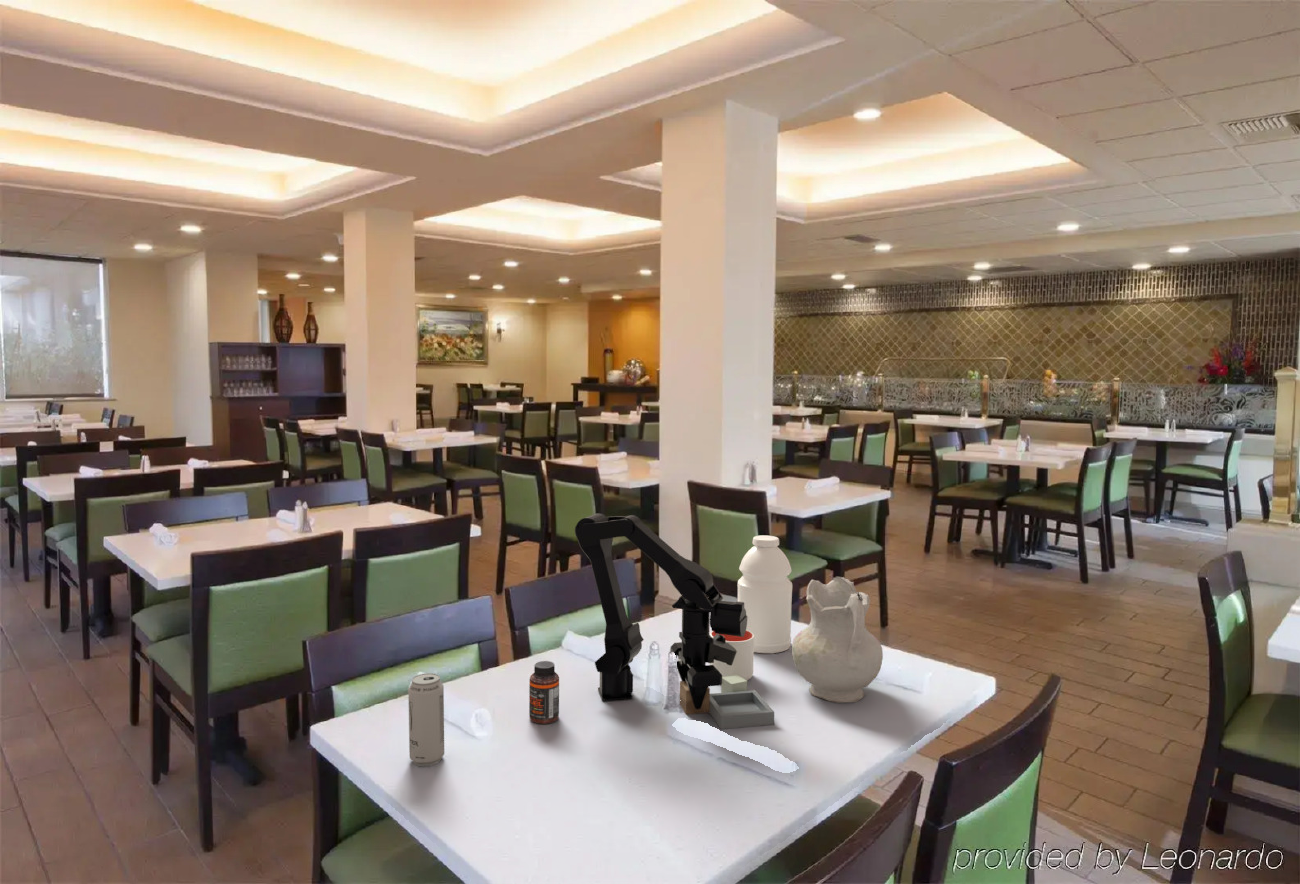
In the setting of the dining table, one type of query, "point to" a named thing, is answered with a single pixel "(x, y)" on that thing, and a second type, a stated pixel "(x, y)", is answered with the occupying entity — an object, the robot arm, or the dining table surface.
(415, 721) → the energy drink can
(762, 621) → the bottle
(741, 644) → the cup
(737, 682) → the sage cube
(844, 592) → the ceramic pitcher
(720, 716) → the tray
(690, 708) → the walnut cube
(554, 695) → the supplement bottle
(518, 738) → the dining table surface
